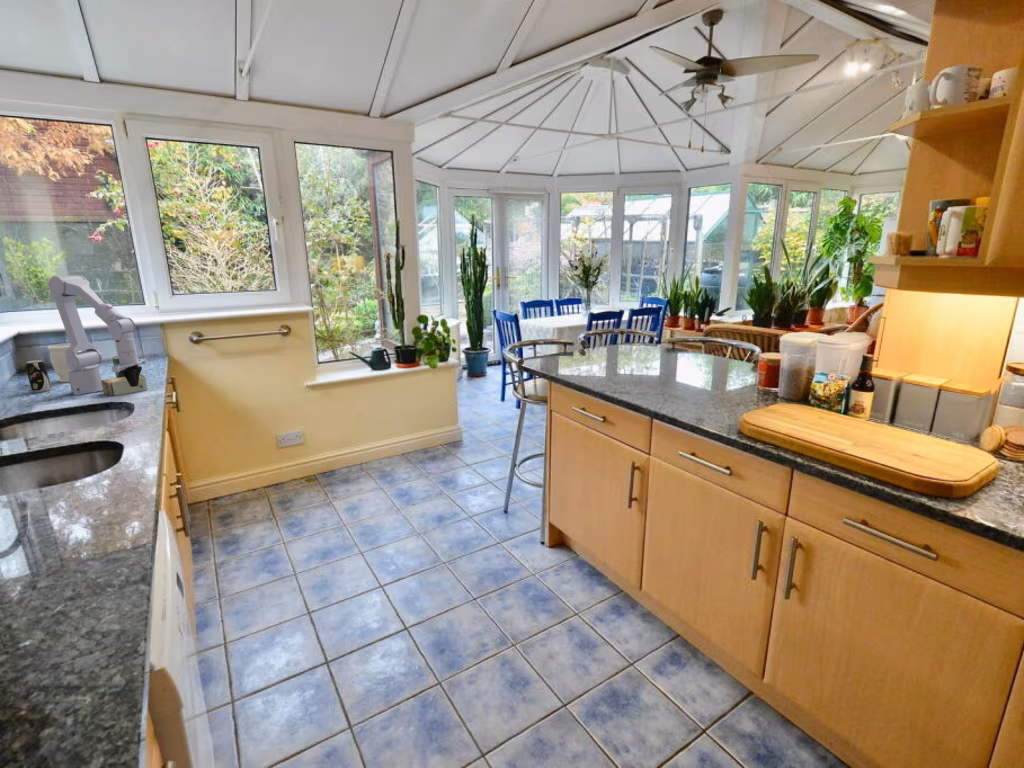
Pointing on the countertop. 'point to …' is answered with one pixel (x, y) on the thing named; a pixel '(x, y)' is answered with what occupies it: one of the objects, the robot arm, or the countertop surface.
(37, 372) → the beverage can
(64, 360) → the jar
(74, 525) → the countertop surface
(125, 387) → the door
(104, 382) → the cabinet
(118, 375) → the canned tomato
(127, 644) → the countertop surface
